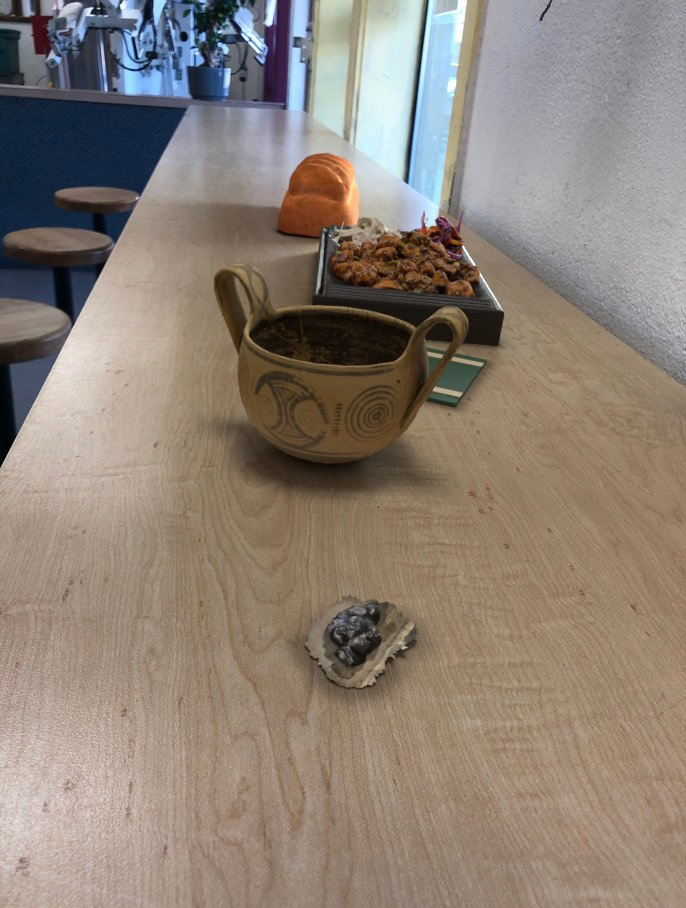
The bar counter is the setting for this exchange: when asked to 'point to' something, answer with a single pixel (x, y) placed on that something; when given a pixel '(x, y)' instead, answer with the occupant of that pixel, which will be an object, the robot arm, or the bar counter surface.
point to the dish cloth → (453, 376)
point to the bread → (319, 196)
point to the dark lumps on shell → (358, 639)
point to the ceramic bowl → (328, 370)
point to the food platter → (406, 276)
